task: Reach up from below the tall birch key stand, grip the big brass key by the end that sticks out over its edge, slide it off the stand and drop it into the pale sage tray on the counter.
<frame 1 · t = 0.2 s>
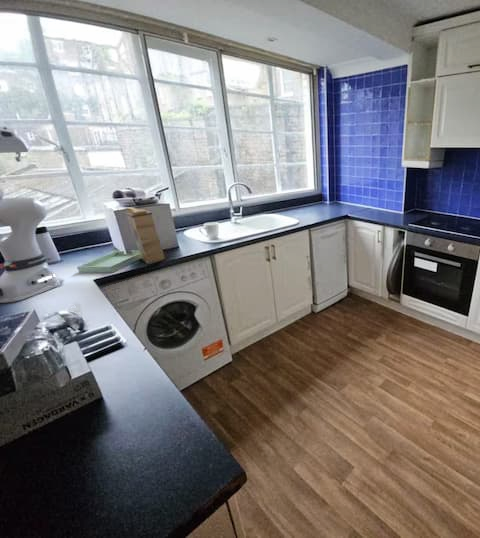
hand: (5, 161, 140), 52 cm above the table, tool tilted 20°, fingers open, 8 cm apart
tray: (115, 263, 157), on the table
travel mug: (54, 262, 161), on the table
key: (135, 211, 153), point 26 cm above the table, touching key stand
key stand: (153, 259, 160), on the table
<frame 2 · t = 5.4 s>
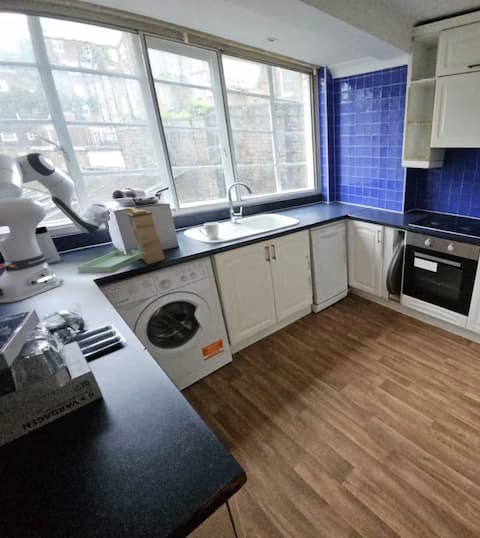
hand: (118, 210, 164), 25 cm above the table, tool pointing upward, fingers open, 8 cm apart
nothing on the table moved.
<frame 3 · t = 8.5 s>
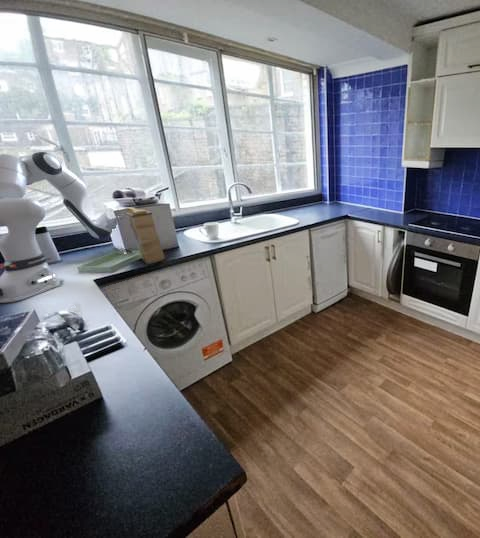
hand: (130, 215, 161), 23 cm above the table, tool pointing upward, fingers open, 8 cm apart
nothing on the table moved.
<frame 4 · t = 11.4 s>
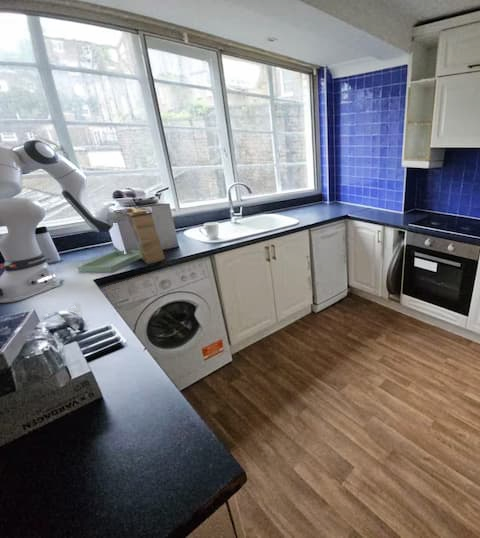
hand: (131, 208, 155), 27 cm above the table, tool pointing upward, fingers closed on key, 3 cm apart
key: (135, 211, 153), point 26 cm above the table, touching gripper, key stand
everything else where it was.
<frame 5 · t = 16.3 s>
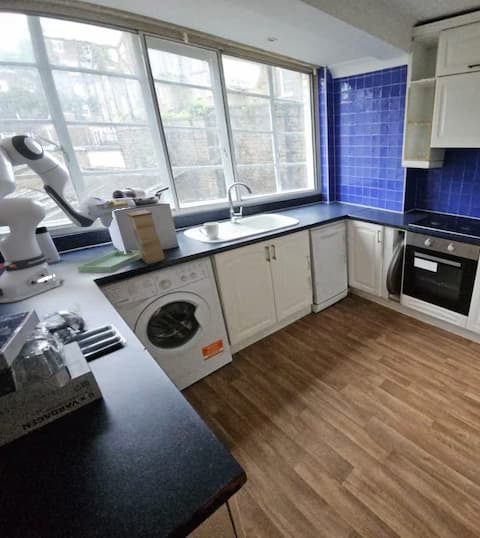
hand: (113, 201, 154), 31 cm above the table, tool pointing upward, fingers closed on key, 3 cm apart
key: (117, 204, 152), point 30 cm above the table, touching gripper
everything else where it was.
when the fingers open (17 cm above the table, at t = 21.2 s): key drops 14 cm, resting on tray.
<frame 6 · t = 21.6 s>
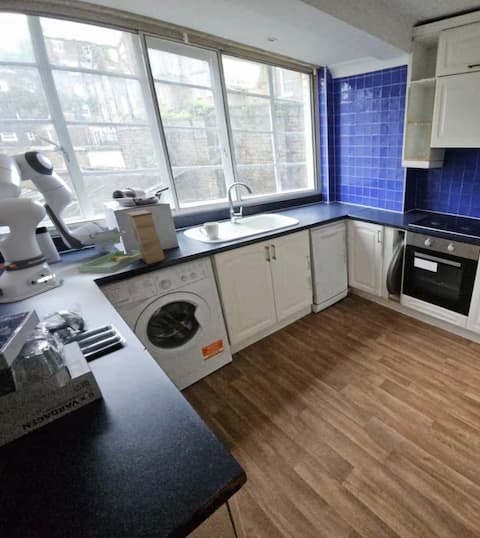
hand: (106, 230, 152), 17 cm above the table, tool pointing upward, fingers open, 7 cm apart
key: (119, 259, 157), point 2 cm above the table, tilted 10°, touching tray
everything else where it was.
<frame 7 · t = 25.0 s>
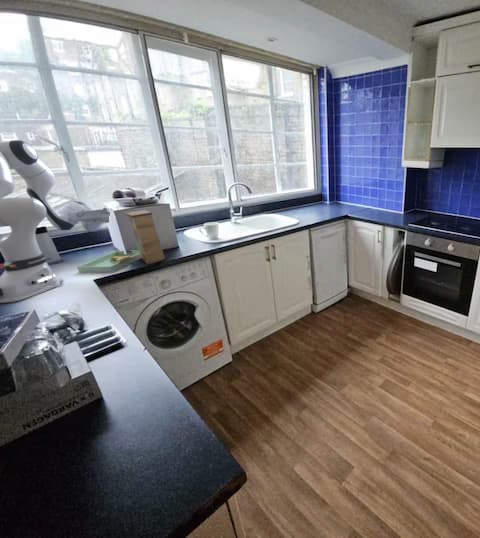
hand: (94, 210, 155), 27 cm above the table, tool pointing upward, fingers open, 8 cm apart
nothing on the table moved.
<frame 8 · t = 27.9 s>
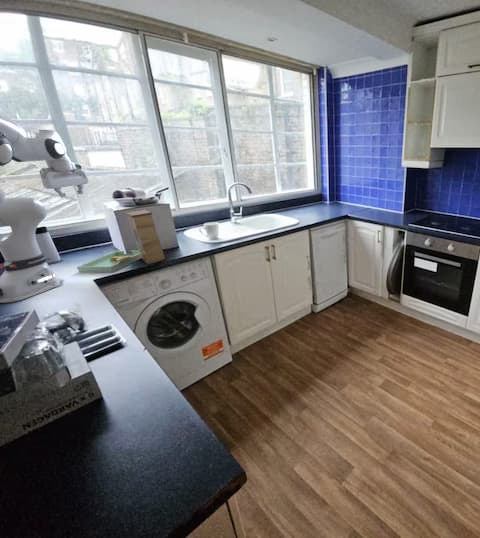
hand: (72, 195, 149), 35 cm above the table, tool pointing down, fingers open, 8 cm apart
nothing on the table moved.
at the end: key inside the target area in the tray (2.7 cm from its centre), point 2.0 cm above the tray's base; the gripper is holding nothing; key moved 27.5 cm from its start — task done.
